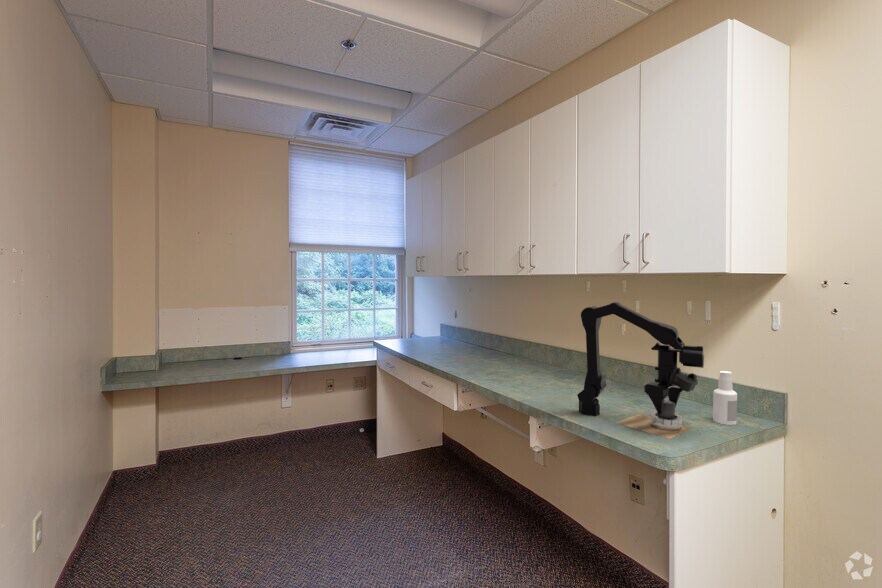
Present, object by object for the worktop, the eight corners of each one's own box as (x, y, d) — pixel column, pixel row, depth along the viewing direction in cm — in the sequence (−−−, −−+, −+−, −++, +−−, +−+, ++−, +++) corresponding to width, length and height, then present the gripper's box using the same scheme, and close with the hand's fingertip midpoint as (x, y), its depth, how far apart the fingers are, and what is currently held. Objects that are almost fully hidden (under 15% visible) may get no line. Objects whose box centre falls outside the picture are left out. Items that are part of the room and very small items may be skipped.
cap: (654, 419, 144) (655, 401, 144) (662, 416, 147) (662, 398, 147) (670, 423, 140) (670, 405, 140) (677, 420, 143) (678, 402, 143)
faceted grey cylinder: (645, 425, 145) (645, 415, 145) (659, 419, 150) (659, 409, 150) (673, 433, 138) (673, 422, 137) (687, 426, 143) (687, 416, 143)
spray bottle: (739, 428, 144) (740, 374, 143) (715, 426, 146) (716, 373, 145) (733, 422, 150) (734, 370, 149) (710, 419, 153) (711, 369, 152)
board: (615, 425, 148) (615, 422, 148) (639, 416, 157) (639, 413, 157) (669, 441, 133) (670, 438, 133) (692, 430, 142) (692, 427, 142)
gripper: (679, 372, 131) (678, 423, 132) (706, 364, 142) (705, 411, 143) (643, 366, 140) (642, 414, 141) (671, 359, 151) (670, 403, 152)
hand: (666, 411), depth 144 cm, fingers open, 9 cm apart
